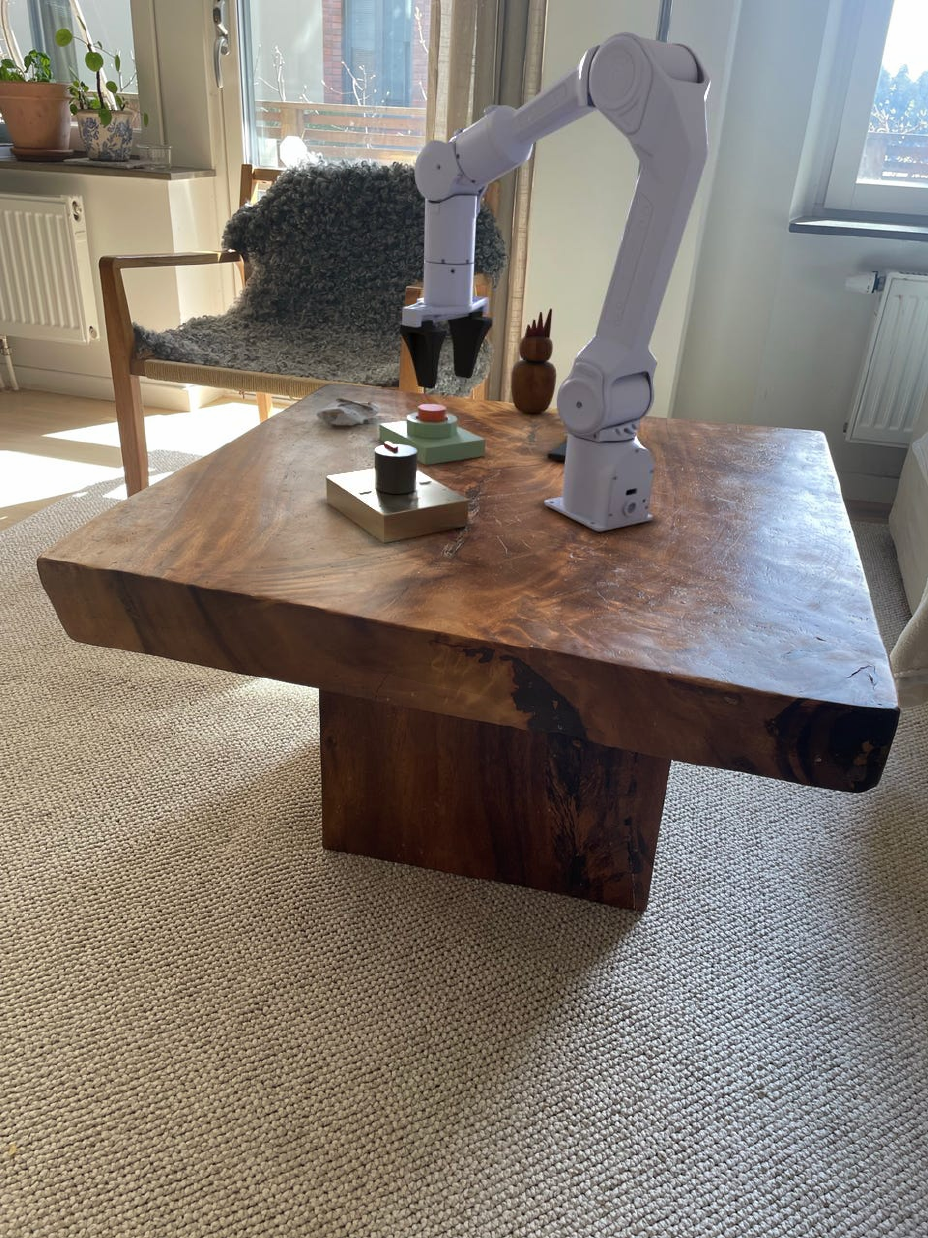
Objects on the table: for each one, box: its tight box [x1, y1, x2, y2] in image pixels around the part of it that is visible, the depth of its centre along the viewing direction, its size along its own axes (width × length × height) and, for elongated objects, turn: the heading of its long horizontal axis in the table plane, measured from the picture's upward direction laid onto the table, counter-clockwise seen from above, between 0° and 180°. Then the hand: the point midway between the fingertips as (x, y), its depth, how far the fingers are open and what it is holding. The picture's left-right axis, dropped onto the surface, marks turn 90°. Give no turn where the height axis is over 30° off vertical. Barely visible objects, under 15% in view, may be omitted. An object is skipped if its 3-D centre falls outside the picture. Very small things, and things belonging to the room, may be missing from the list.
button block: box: [379, 411, 487, 466], centre depth 116 cm, size 12×9×4 cm
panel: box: [325, 468, 470, 544], centre depth 94 cm, size 13×10×3 cm
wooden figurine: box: [510, 308, 557, 414], centre depth 133 cm, size 7×6×15 cm
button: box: [417, 403, 447, 422], centre depth 115 cm, size 4×4×2 cm
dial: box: [374, 442, 418, 494], centre depth 93 cm, size 4×4×4 cm
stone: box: [316, 397, 381, 427], centre depth 126 cm, size 10×7×3 cm
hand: (445, 381), depth 108 cm, fingers open, 7 cm apart
